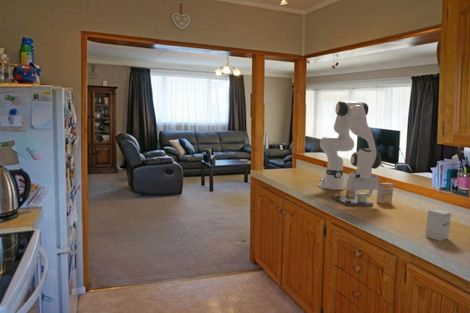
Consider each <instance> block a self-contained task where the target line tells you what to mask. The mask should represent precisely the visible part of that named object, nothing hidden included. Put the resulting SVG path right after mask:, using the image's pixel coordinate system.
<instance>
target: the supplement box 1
mask: <svg viewBox="0 0 470 313" xmlns="http://www.w3.org/2000/svg"><path fill="white" fill-rule="evenodd" d="M394 185H395V184H394V183H391V182H379V188H378V190H377V193H376V195H377V196H376V203H378V204H381V205H385V204H387V205H389V204H390V205H392V203H393V202H392V201H393V193H394Z"/></svg>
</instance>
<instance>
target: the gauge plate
mask: <svg viewBox="0 0 470 313" xmlns="http://www.w3.org/2000/svg"><path fill="white" fill-rule="evenodd" d="M330 199H331V200H332V199H333V200H332V201H334V200H335V202H337V203H338V204H341V205H343V206H344V207H374V203H373V202H371V201H370V200H367V201H366V202H359V201H357V197H355V198H349V197H347V196H346V195H341V193H338V192H335V195H331V197H330Z"/></svg>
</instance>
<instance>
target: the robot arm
mask: <svg viewBox="0 0 470 313" xmlns="http://www.w3.org/2000/svg"><path fill="white" fill-rule="evenodd" d="M368 113H369V105H368V104H367V103H366V102H363V101H362V102H361V101H355V100H347V101H346V100H341V101H340V100H339V101H338V102H337V103H336V105H335V114H336V118H335V121H334V125H333V131H334V132H335V133H336V134H337V135H338V136H333V135H329V136H323V137H322V138H321V139H320V140H319V146H320V148H321V150H322V151H323V152H324V153H325V154H326V158H327V168H326V170H325V174H324V175H323V176H322V177H321V178H320V182H319V183H318V184H317V185H318V186H319V187H320V188H321V189H326V190H334V191H335V190H336V191H341V190H344V189H346V190H347V189H349V190H352V192H353V197H357V196H358V193H356V191H363V190H365V191H366V190H367V191H368V193H366V194H367V198H371V194H373V191H378V188H379V183H380V181H379V180H380V177H379V176H378V175H377V174H372V170H373V169H374V170H375V169H378V168H379V167H380V166H381V165H382V162H383V161H382V157H381V154H380V152H379V148H378V144H377V143H378V142H377V140H376V136H375V134H374V130H372V128H370V126H369V124H368V120H367V115H368ZM350 132H351V133H352V134H353V135H355V136H358V137H359V138H362V139H363V140H365V141H366V142H367V145H368V147H361V148H359V150H358V151H355V152H353V153H351V156H350V164H351V166H353V167H355V168H356V170H355V171H352V172H349V173H348V178H347V180H346V186H345V177H344V170H343V169H344V168H343V167H344V159H343V158H342V157H341V156H339V154H338V152H350V151H352V150H353V149H354V147H355V141H354V139H353V138H352V137H351V136H350Z"/></svg>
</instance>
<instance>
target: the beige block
mask: <svg viewBox="0 0 470 313" xmlns="http://www.w3.org/2000/svg"><path fill="white" fill-rule="evenodd" d="M345 191H346V192H345V196H347V197H349V198H355V197H353V192H352V190H349V189H347V188H346V190H345Z"/></svg>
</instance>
